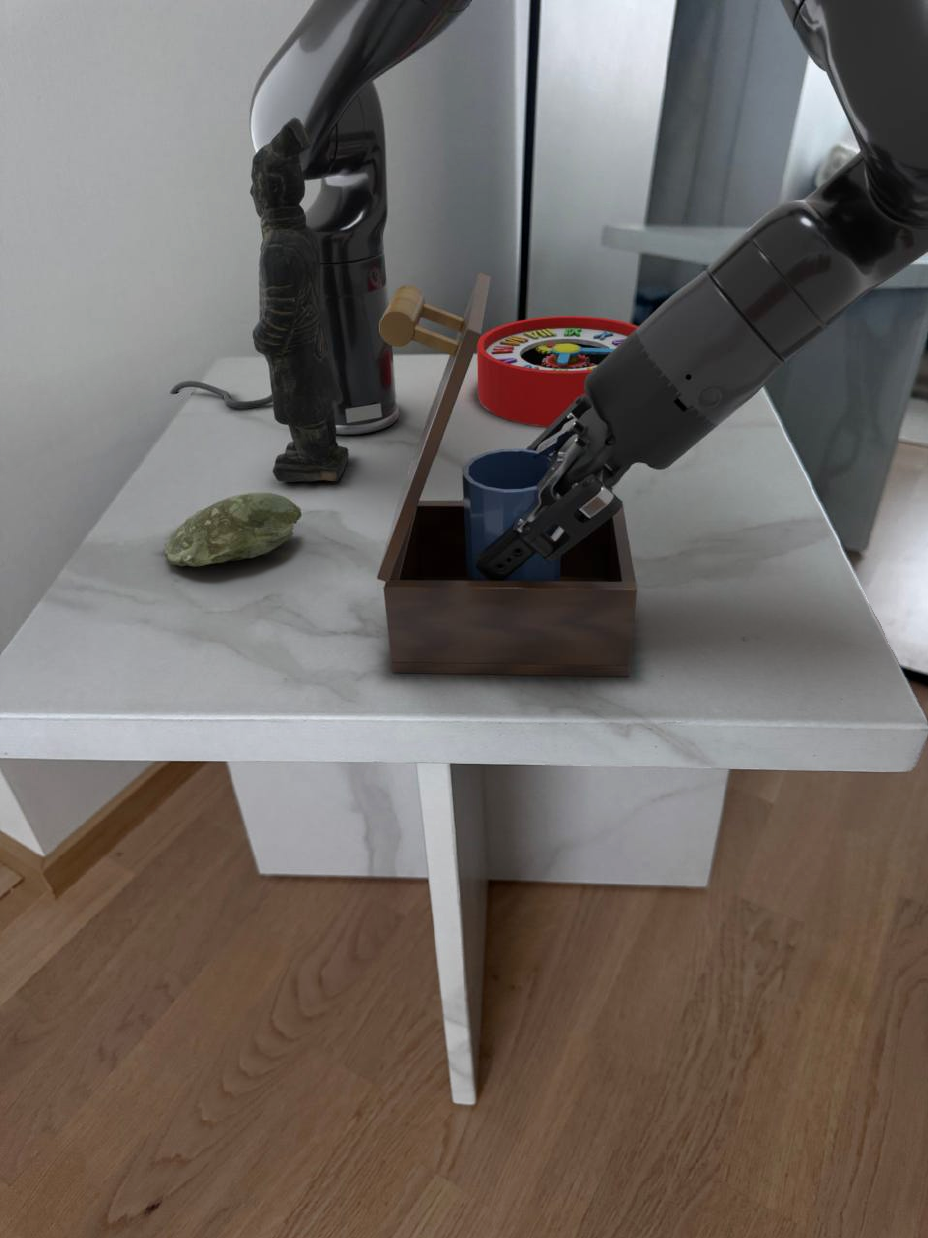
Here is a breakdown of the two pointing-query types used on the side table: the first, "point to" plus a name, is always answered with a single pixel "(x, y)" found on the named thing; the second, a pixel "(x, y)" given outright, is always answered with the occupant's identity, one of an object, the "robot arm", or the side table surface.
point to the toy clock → (542, 364)
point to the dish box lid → (399, 331)
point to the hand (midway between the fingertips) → (488, 545)
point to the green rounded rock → (233, 530)
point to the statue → (294, 314)
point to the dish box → (509, 606)
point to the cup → (502, 507)
